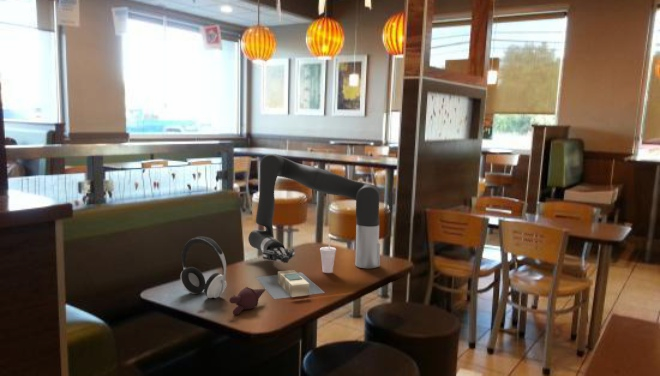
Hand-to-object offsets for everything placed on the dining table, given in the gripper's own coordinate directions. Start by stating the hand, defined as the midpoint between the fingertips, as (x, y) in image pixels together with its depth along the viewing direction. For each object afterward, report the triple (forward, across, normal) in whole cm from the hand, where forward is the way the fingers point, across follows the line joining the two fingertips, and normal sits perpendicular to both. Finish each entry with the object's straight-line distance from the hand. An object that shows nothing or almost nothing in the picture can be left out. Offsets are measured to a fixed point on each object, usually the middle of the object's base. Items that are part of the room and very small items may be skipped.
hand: (286, 260), depth 177 cm
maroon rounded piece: (+19, -18, +9) cm, 28 cm away
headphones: (+3, -30, +9) cm, 31 cm away
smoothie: (-6, +19, +9) cm, 22 cm away
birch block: (0, 0, +6) cm, 6 cm away
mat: (+4, 0, +9) cm, 9 cm away
